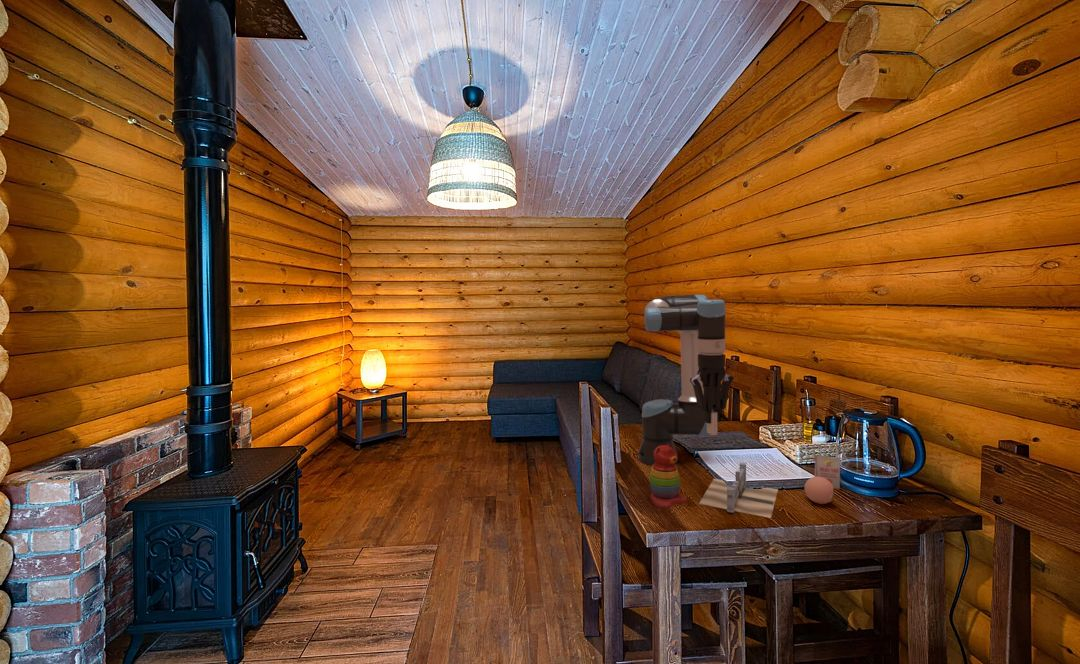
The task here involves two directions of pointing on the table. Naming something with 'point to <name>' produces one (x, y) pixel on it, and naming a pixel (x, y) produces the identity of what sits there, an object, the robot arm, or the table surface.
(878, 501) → the table surface
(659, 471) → the stacking bear
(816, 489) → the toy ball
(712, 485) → the board
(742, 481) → the fixed fence panel
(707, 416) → the robot arm
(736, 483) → the gray castle wall
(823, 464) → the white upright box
